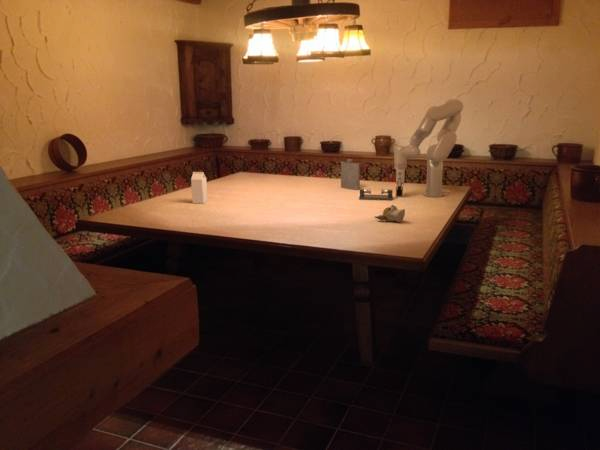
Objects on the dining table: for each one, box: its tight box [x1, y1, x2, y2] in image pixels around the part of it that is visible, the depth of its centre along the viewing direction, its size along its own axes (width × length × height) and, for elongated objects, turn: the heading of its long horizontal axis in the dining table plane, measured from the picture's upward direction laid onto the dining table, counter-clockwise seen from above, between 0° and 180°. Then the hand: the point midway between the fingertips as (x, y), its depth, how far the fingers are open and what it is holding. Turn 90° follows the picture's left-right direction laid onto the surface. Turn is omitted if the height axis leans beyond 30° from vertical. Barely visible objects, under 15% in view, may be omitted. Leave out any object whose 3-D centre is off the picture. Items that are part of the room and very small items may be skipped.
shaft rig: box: [358, 188, 394, 201], centre depth 327 cm, size 20×9×6 cm, turn 78°
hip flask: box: [340, 158, 361, 191], centre depth 358 cm, size 16×4×20 cm, turn 43°
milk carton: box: [190, 171, 209, 205], centre depth 325 cm, size 7×7×19 cm
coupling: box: [395, 185, 404, 198], centre depth 332 cm, size 4×4×7 cm
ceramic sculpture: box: [374, 204, 406, 223], centre depth 274 cm, size 11×9×15 cm
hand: (399, 194), depth 333 cm, fingers closed on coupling, 4 cm apart
